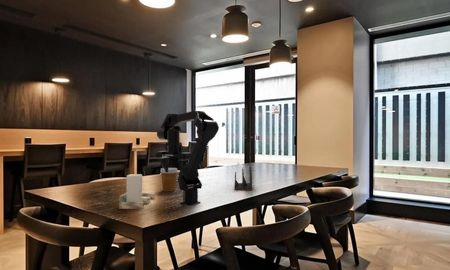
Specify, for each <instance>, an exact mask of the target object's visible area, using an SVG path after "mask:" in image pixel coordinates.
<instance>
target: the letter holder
mask: <svg viewBox="0 0 450 270" xmlns="http://www.w3.org/2000/svg"><path fill="white" fill-rule="evenodd" d="M241 170H242V171H241V175H242V176H241V178H242V179H241V181H242V182H238V180H237V172H236V171H234V172H235V173H234V189H233V190H234V191H253V174H252V165H251V163H249V164H248V170H249V171H248V172H249V173H248V174H249V182H247V180H246V178H245V175H244V174H245V173H244V172H245V171H244V168H243V167H242V168H241Z"/></svg>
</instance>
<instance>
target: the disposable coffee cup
mask: <svg viewBox="0 0 450 270" xmlns="http://www.w3.org/2000/svg"><path fill="white" fill-rule="evenodd" d="M159 172H160V175H161V182H162V191H163V192H174V191H175V190H176V181H177V175H178V172H179V170H178V168H177V167H168V172H166V171H165V169H164V168H163V167H162V168H160V171H159Z"/></svg>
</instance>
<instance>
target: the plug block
mask: <svg viewBox="0 0 450 270" xmlns="http://www.w3.org/2000/svg"><path fill="white" fill-rule="evenodd" d="M126 192H127V197H126V202H142V193H143V174H141V173H140V174H139V173H138V174H136V173H135V174H134V173H133V174H131V173H130V174H127V175H126Z"/></svg>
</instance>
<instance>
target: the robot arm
mask: <svg viewBox="0 0 450 270" xmlns="http://www.w3.org/2000/svg"><path fill="white" fill-rule="evenodd" d="M188 122H194V126H195V127H196V135H197V139H196V141H195V144H194V146H193V149H192V151H191V152H188V151H189V147H186V146H184V145H183V142H181V140H180V137H181V136H180V132H182V131H183V129H182V128H181V126H183V125H184V124H185V123H188ZM219 127H220V126H219V124H218V122H217V121H216V120H215V119H214V118H213V117H212V116H210V115H208V114H207V113H206V112H205V111H204V110H201V109H194V110H191V111H187V112H186V111H185V112H182V113H167V114H166V116H165V118H164V120H163V122H162V123H161V125H160V128H159V129H158V130H157V132H156V136H157V138H158V139H159V140H161V141H162V140H163V141H164V140H165V141H167V142H165V146H167V150H160V151H158V150H157V151H156V153H155V158H157V160H158V161H159V162H160V164H161V166H162V168H164V169H165V171H166V172H168V168H169V161H170V158H178V160H177V163H178V168H179V170H178V173H177V175H178V177H177V182H178V186H179V187H178V188H179V190H181V191H183V192H182V201H180V204H183V205H187V206H192V205H197V204H201V203H202V202H201V201H199V190H200V189H202V187H203V183H202V182H201V180H200V179H199V178H200V174H199V167H200V164H201V162H202V160H203V158H204V155H205V152H206V150H207V148H208V146H209V143H210V142H211V141H212V140H213V139H214V138H215V137H216V135H217V134H218V132H219V129H220V128H219ZM198 189H199V190H198Z"/></svg>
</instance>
